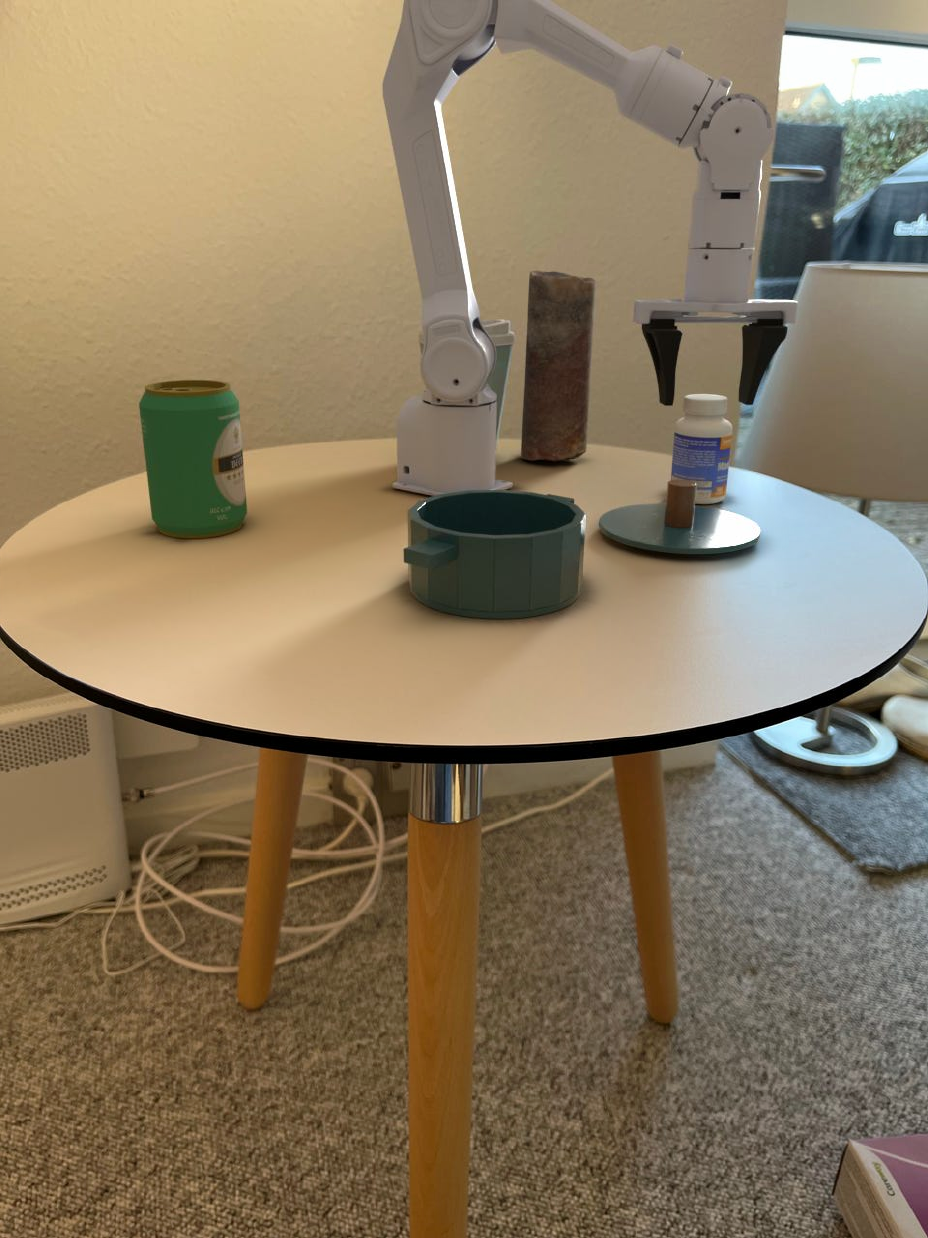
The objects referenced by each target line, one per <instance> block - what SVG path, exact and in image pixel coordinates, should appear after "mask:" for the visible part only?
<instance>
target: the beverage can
mask: <svg viewBox="0 0 928 1238" xmlns="http://www.w3.org/2000/svg"><path fill="white" fill-rule="evenodd" d="M138 408H139V416H140V425H141V426H140V427H141V434H142V443H143V451H144V452H143V453H144V462H145V469H146V478H147V479H146V480H147V487H148V489H147V490H148V494H149V497H148V498H149V505H150V514H151V520H152V521H153V522H154V524H155V525H156V526H157V527H158V531H159V532H160V533H161V534H162V535H164V536H167V537H173V538H177V539H204V538H205V539H206V538H214V537H220V536H224V535H229V534H231V533H235V532H236V531H238V530H240V529H241V528H242V527H243V524H244V523H243V522H244V520H245V518H246V516H247V514H248V506H247V492H246V480H245V478H246V477H245V466H244V451H243V440H242V426H241V413H240V411H241V410H240V401H239V399H238V397H237V396H236V394H235V393H234V392H233V390H232V389H231V384H230V383H229V382H226V381H222V380H214V379H213V380H211V379H179V380H166V381H158V382H153V383H149V384H147V385H145V386H144V392H143V394H142V397H141V399H140V401H139V402H138Z"/></svg>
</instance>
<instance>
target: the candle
mask: <svg viewBox="0 0 928 1238" xmlns="http://www.w3.org/2000/svg"><path fill="white" fill-rule="evenodd" d="M596 284H597V283H596V280H595V279H594V278H593V277H583V276H578V275H571V274H569V273H565V272H561V271H554V270H553V271H542V270H537V269H536V270H533V271H529V279H528V295H527V321H526V341H525V365H524V382H523V383H524V386H523V399H522V400H523V403H522V418H521V419H522V420H521V422H522V423H521V442H520V444H521V445H520V458H521V459H522V460H525V461H531V462H534V461H538V460H540V461H549V462H558V461H569V460H575V459H578V458H580V457H581V456H582V455H584V454H585V453H586V452H587V448H588V447H587V445H588V429H589V412H590V391H591V371H592V356H593V355H592V354H593V340H594V339H593V338H594V319H595V318H594V317H595V306H596V305H595V302H596V286H597V285H596Z"/></svg>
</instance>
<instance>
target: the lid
mask: <svg viewBox="0 0 928 1238" xmlns="http://www.w3.org/2000/svg"><path fill="white" fill-rule="evenodd" d="M696 490H697V483H696V482H694V481H690V480H683V479H676V480H671V479H670V480H668V481H667V487H666V497H665V503H663V502H661V503H642V504H632V505H625V506H621V507H617V508H614V509H610V510H608V511H606V512H604V513H603V514H602V515H601V516H600V517H599V520H598V528H599V531H600V532H601V533H602V534H603V535H604V536H606V537H607V538H609V539H611V540H613V541H615V542H618V543H621V544H623V545H627V546H630V547H633V548H638V549H643V550H646V551H647V550H648V551H652V552H653V551H654V552H658V553H659V552H660V553H666V554H667V553H668V554H674V555H675V554H677V555H712V554H713V555H714V554H723V553H731V552H736V551H740V550H744V549H746V548H750V547H752V546H753V545H755V544H756V543H757V542H759V540H760V535H761V529H760V526H758V524H757V523H756V522H755V521H753V520H751V519H749V518H747V517H745V516H743V515H740V514H737V513H734V512H730V511H727V510H723V509H719V508H714V507H709V506H702V505H696V504H695V500H696Z"/></svg>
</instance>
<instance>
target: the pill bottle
mask: <svg viewBox="0 0 928 1238" xmlns="http://www.w3.org/2000/svg"><path fill="white" fill-rule="evenodd" d="M727 410H728V397H727V396H725V395H720V394H711V393H694V394H693V393H692V394H687V395H685V396H684V397H683V403H682V411H683V412H684V413H685V415H684V416H683V417H681V418H679V419H678V420H677V421H676V422H675V423H674V429H673V443H672V444H673V445H672V456H671V457H672V458H671V470H670V480H676V479H683V480H690V481H694V482H696V483H697V490H696V500H695V505H696V504H697V505H710V504H716V503H720V502H722V501H724V500H725V498H726V494H727V487H728V477H729V469H730V468H729V467H730V457H731V450H732V449H731V448H732V439H733V425H732V423H731V422H730V421H729V420H727V419H725V418H724V415H725V414H727Z"/></svg>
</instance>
